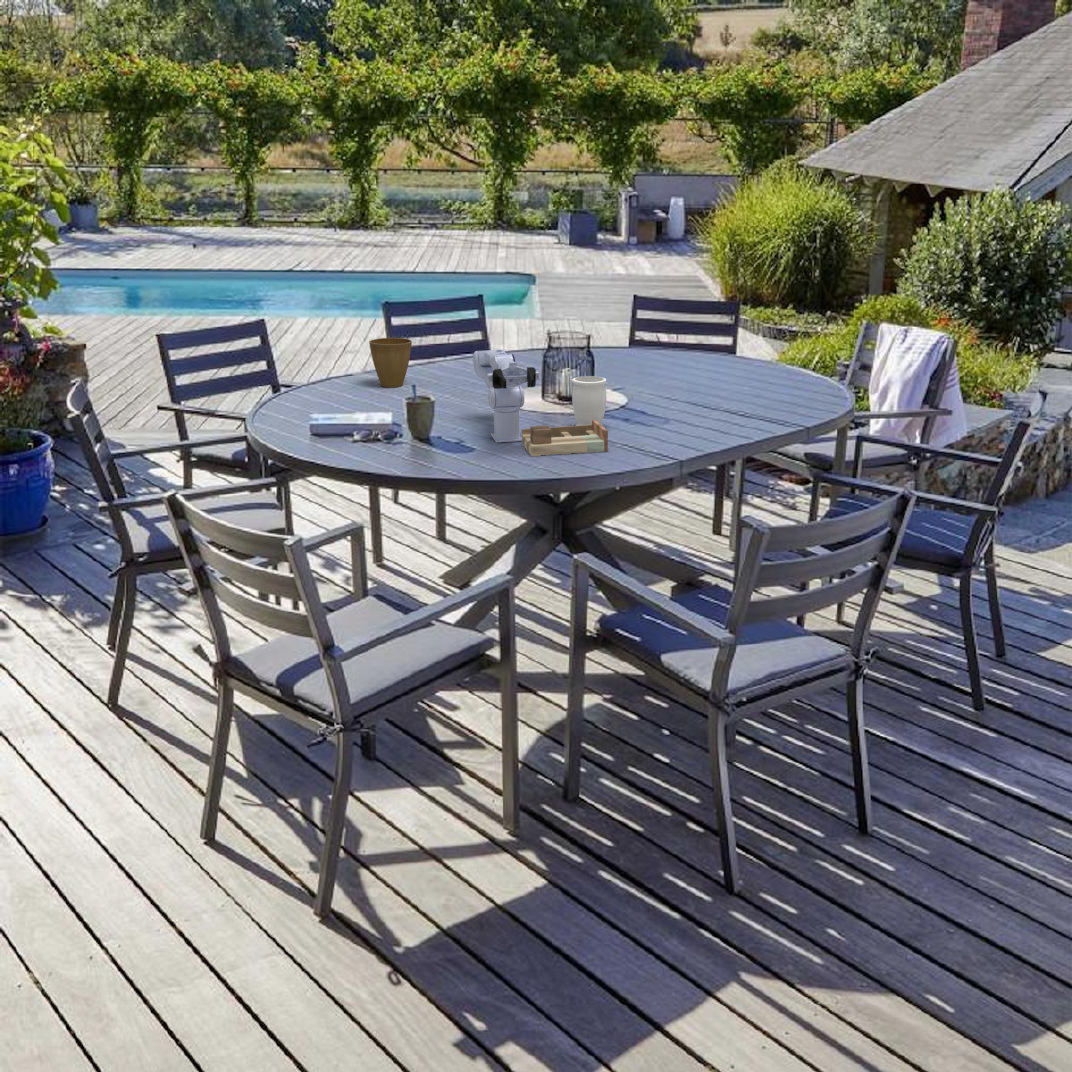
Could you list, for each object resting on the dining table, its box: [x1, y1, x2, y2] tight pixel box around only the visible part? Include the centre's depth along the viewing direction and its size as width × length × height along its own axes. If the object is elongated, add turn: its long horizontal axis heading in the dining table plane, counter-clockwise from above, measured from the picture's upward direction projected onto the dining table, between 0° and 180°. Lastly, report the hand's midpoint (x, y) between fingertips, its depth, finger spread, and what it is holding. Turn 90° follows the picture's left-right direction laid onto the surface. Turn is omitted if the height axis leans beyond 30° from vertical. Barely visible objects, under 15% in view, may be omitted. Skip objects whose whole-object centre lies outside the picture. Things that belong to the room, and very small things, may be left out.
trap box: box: [521, 420, 609, 457], centre depth 359 cm, size 14×22×6 cm, turn 102°
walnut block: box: [529, 425, 551, 444], centre depth 355 cm, size 5×5×4 cm
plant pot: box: [368, 337, 413, 388], centre depth 443 cm, size 15×15×16 cm
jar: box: [571, 375, 607, 427], centre depth 381 cm, size 11×10×15 cm
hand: (518, 384), depth 346 cm, fingers open, 7 cm apart
